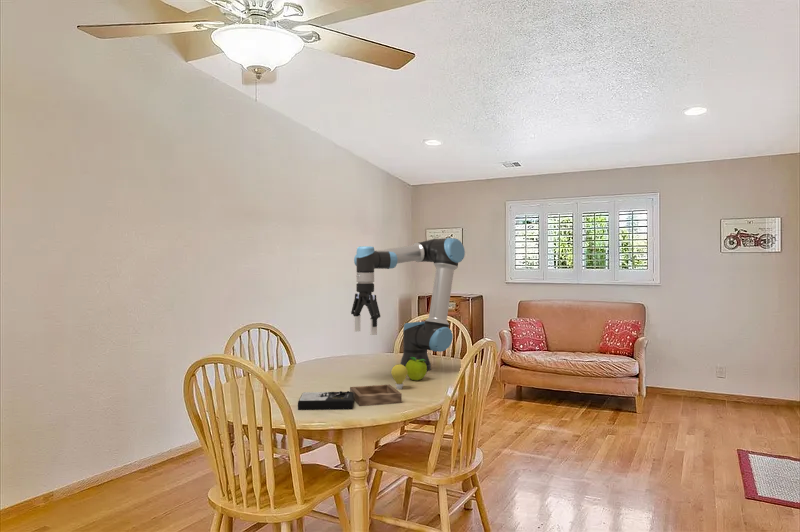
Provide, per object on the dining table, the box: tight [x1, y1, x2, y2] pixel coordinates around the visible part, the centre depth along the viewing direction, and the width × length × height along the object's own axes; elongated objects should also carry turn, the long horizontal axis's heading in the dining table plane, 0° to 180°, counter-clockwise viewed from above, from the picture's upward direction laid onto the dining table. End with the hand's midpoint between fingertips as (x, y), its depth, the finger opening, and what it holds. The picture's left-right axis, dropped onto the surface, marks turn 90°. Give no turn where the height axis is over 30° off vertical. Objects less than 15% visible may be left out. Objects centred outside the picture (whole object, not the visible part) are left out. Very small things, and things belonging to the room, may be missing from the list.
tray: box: [349, 383, 403, 407], centre depth 205 cm, size 16×16×3 cm
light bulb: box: [391, 363, 408, 390], centre depth 222 cm, size 7×7×10 cm
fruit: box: [405, 357, 428, 381], centre depth 239 cm, size 9×9×10 cm
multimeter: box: [297, 390, 354, 411], centre depth 196 cm, size 13×19×5 cm
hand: (365, 333), depth 228 cm, fingers open, 13 cm apart
